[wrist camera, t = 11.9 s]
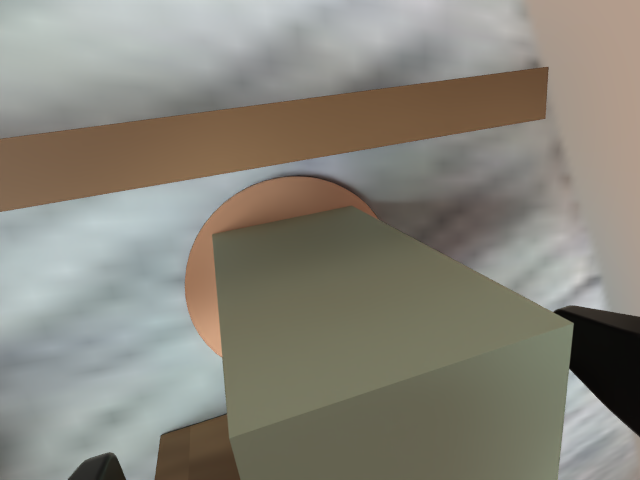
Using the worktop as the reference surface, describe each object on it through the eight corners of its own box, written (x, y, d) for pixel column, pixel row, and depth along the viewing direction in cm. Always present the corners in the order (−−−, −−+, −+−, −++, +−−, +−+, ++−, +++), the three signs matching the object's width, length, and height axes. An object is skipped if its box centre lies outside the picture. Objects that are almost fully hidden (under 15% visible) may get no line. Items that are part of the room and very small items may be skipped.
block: (351, 205, 12) (573, 322, 5) (364, 324, 14) (550, 551, 6) (212, 234, 11) (229, 438, 4) (241, 359, 13) (294, 680, 5)
